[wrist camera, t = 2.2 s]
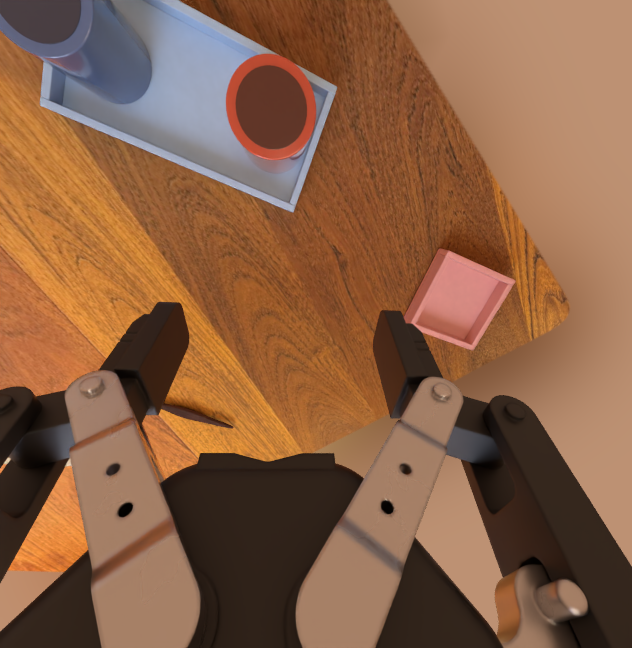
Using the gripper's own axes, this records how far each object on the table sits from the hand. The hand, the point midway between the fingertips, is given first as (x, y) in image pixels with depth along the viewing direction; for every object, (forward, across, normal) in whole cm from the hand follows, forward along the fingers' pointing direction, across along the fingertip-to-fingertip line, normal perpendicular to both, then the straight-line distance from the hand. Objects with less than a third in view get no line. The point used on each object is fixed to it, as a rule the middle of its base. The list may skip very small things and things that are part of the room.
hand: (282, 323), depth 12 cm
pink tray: (+18, -18, +10) cm, 27 cm away
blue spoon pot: (+22, +14, -8) cm, 27 cm away
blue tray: (+22, +8, -6) cm, 24 cm away
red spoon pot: (+21, +2, -4) cm, 21 cm away
